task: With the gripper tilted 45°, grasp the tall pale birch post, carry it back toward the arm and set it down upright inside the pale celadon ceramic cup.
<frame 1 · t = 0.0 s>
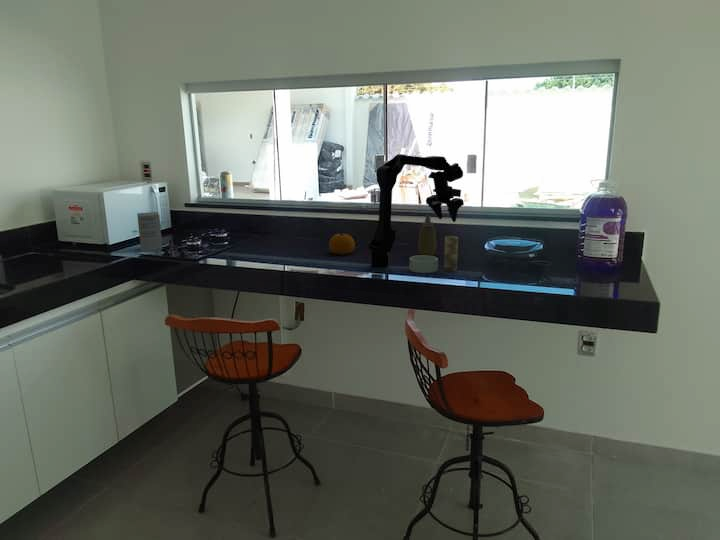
hand: (447, 220, 239), 15 cm above the countertop, tool pointing down, fingers open, 9 cm apart
squeeze bottle: (427, 255, 244), on the countertop
fruit: (342, 253, 249), on the countertop
birch post: (450, 269, 218), on the countertop
supplement box: (151, 249, 261), on the countertop
celadon cup: (423, 269, 219), on the countertop
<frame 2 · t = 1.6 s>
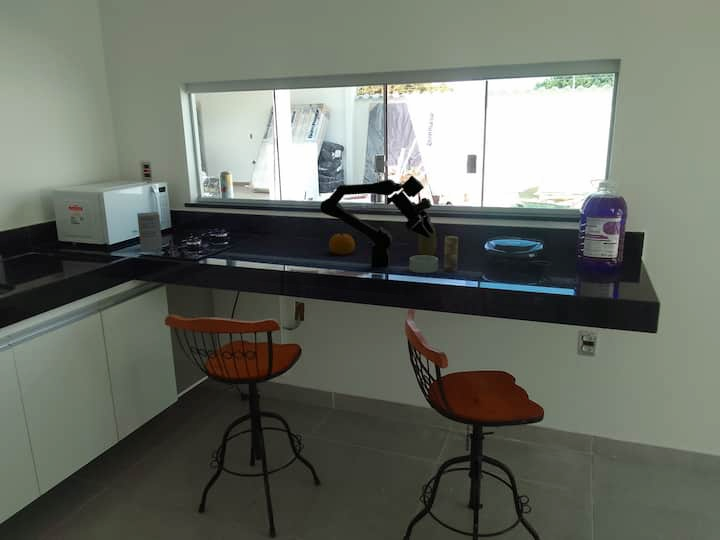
hand: (431, 234, 218), 13 cm above the countertop, tool tilted 45°, fingers open, 9 cm apart
nothing on the countertop moved.
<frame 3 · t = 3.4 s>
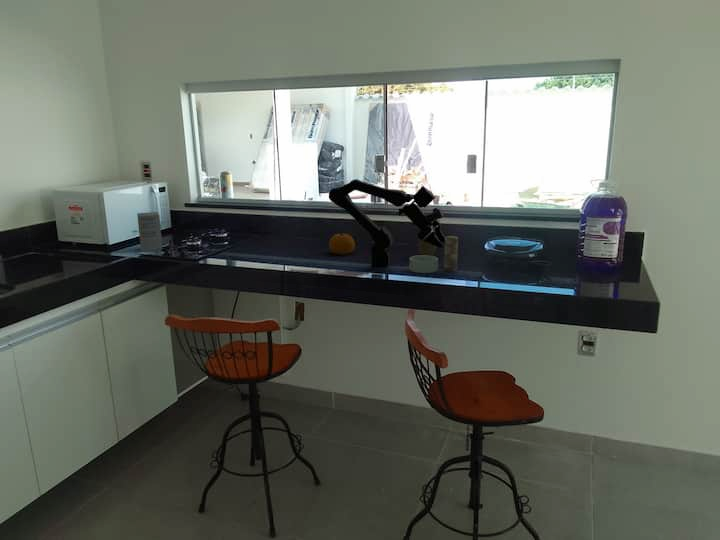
hand: (444, 244, 217), 10 cm above the countertop, tool tilted 45°, fingers open, 9 cm apart
nothing on the countertop moved.
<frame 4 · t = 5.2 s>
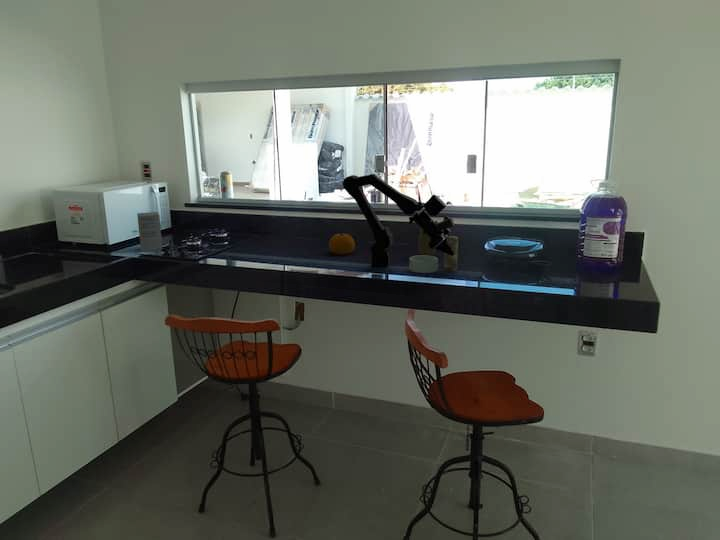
hand: (454, 253, 216), 7 cm above the countertop, tool tilted 45°, fingers closed on birch post, 5 cm apart
birch post: (450, 269, 218), on the countertop, touching gripper
everything else where it was.
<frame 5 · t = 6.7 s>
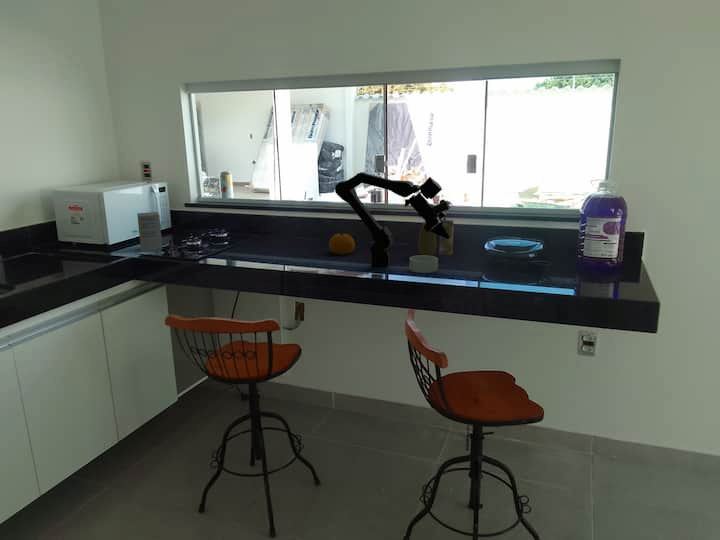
hand: (450, 237, 215), 13 cm above the countertop, tool tilted 45°, fingers closed on birch post, 5 cm apart
birch post: (445, 253, 217), point 7 cm above the countertop, touching gripper
everything else where it was.
when the fingers open (9 cm above the countertop, at t = 8.7 s): birch post drops 1 cm, resting on celadon cup.
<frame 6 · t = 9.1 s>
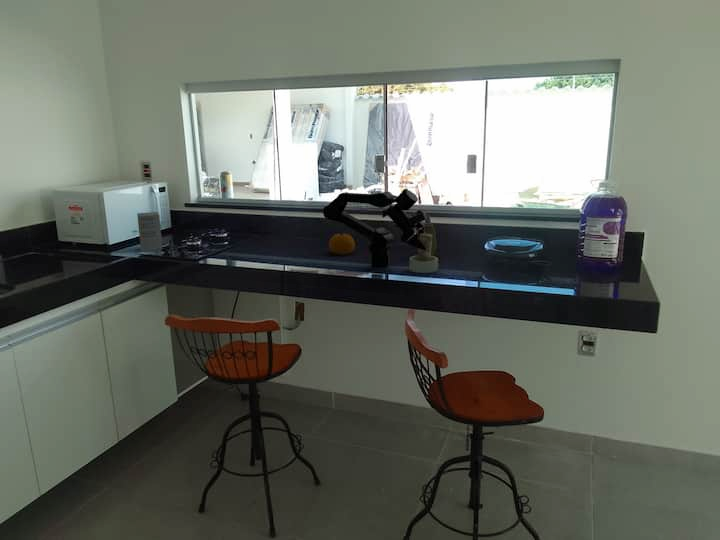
hand: (427, 247, 216), 9 cm above the countertop, tool tilted 45°, fingers open, 9 cm apart
birch post: (423, 267, 219), point 1 cm above the countertop, touching celadon cup
everything else where it was.
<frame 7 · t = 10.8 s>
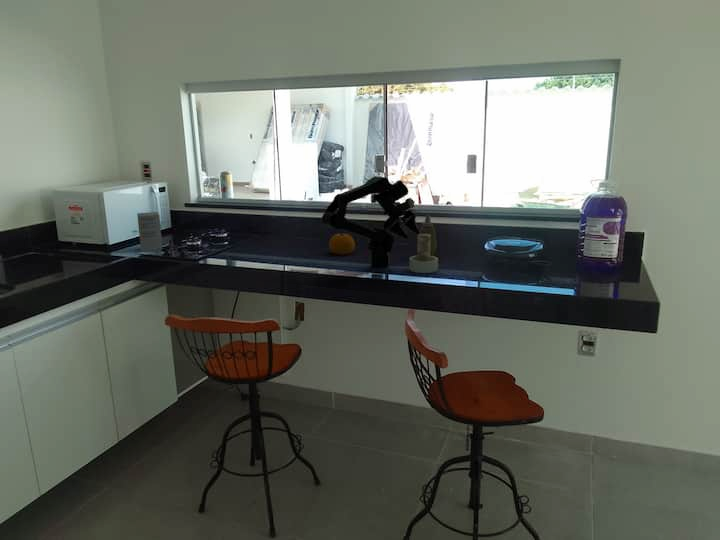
hand: (413, 235, 218), 13 cm above the countertop, tool tilted 45°, fingers open, 9 cm apart
nothing on the countertop moved.
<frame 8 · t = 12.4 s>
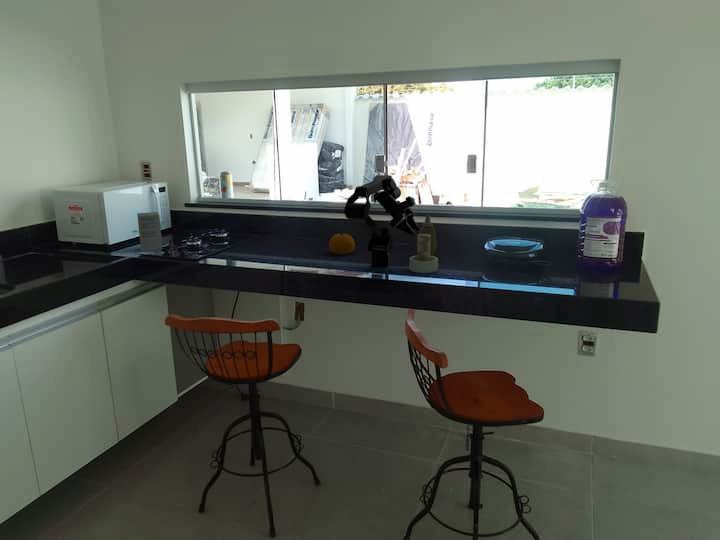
hand: (416, 232, 223), 14 cm above the countertop, tool tilted 45°, fingers open, 9 cm apart
nothing on the countertop moved.
at the end: birch post 0.1 cm off-centre on the celadon cup, point 0.8 cm above the celadon cup's base; birch post tilted 0°; the gripper is holding nothing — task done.
